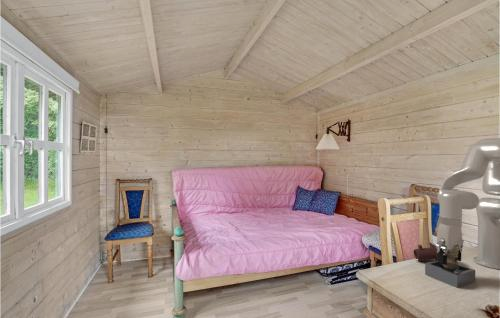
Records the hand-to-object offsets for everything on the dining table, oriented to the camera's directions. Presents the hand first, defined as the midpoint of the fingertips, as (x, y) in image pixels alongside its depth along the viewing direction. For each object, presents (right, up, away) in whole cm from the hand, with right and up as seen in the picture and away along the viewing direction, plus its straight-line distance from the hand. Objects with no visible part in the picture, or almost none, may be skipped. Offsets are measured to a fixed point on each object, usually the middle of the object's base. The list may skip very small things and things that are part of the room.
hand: (449, 261), depth 110 cm
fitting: (0, -7, 0) cm, 7 cm away
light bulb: (0, -7, 0) cm, 7 cm away
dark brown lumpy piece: (+6, -7, +16) cm, 19 cm away
